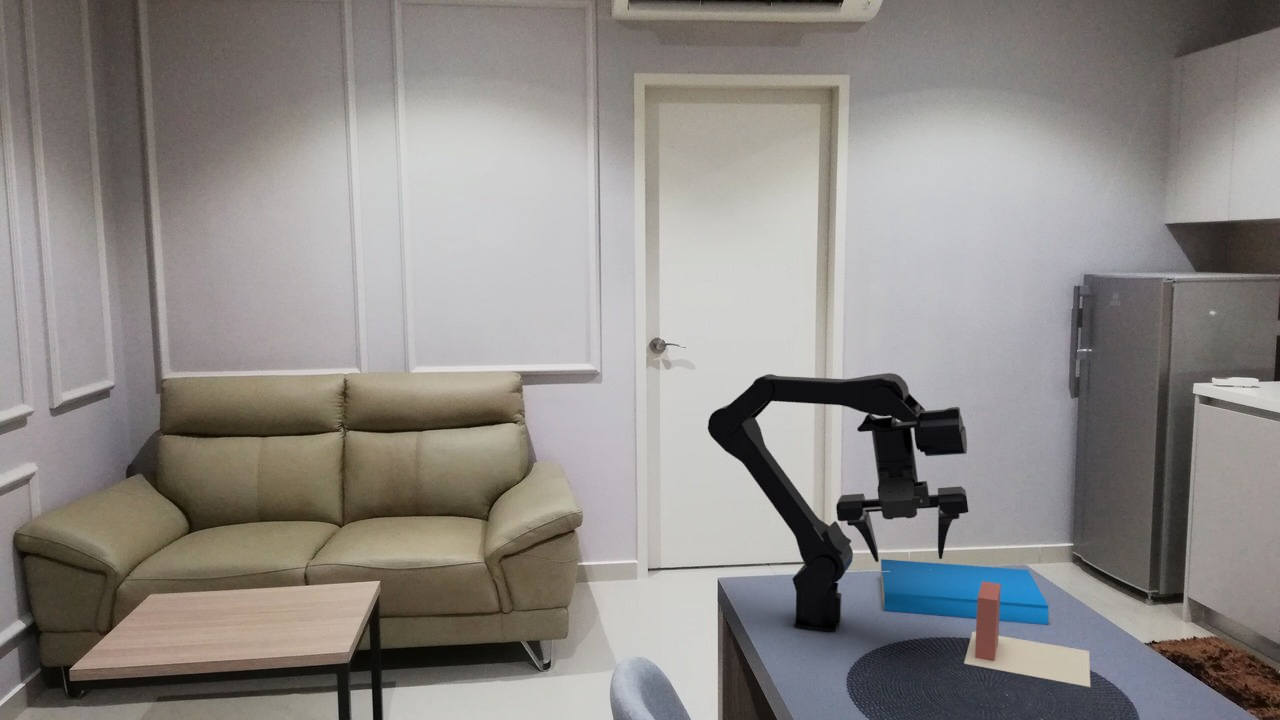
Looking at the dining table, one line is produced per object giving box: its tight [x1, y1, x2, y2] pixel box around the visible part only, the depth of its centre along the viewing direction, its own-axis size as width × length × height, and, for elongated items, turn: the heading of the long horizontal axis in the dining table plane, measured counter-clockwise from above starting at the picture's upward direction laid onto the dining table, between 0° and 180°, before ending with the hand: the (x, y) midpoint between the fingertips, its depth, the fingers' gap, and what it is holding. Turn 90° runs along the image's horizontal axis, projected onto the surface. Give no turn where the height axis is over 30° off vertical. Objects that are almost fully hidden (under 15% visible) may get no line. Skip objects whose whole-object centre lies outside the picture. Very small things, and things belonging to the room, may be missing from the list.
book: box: [880, 558, 1050, 625], centre depth 150 cm, size 17×4×25 cm
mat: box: [963, 631, 1091, 688], centre depth 128 cm, size 16×12×1 cm
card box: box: [975, 581, 1001, 661], centre depth 130 cm, size 3×7×9 cm, turn 154°
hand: (908, 559), depth 134 cm, fingers open, 9 cm apart
